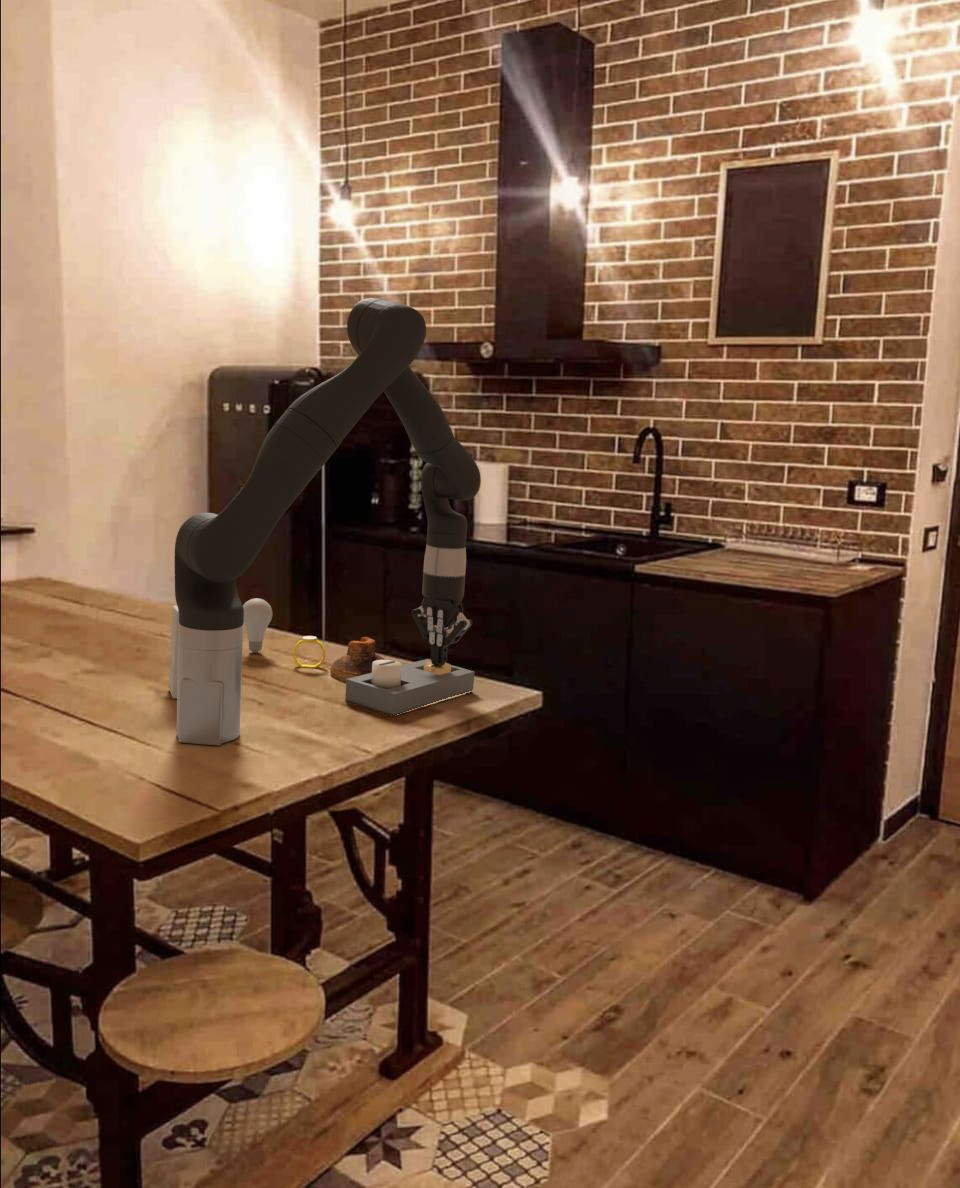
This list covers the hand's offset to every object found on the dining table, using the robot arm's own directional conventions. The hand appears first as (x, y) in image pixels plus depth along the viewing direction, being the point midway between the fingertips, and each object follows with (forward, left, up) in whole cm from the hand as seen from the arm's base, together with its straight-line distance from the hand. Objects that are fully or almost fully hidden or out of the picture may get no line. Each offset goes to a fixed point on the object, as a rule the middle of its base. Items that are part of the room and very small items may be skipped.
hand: (438, 664), depth 184 cm
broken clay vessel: (+6, +15, -5) cm, 16 cm away
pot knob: (-11, +8, -1) cm, 14 cm away
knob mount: (-6, +4, -5) cm, 8 cm away
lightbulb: (+15, +37, -5) cm, 40 cm away
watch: (+8, +25, -5) cm, 27 cm away
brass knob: (0, 0, -4) cm, 4 cm away
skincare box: (-14, +40, -5) cm, 43 cm away
